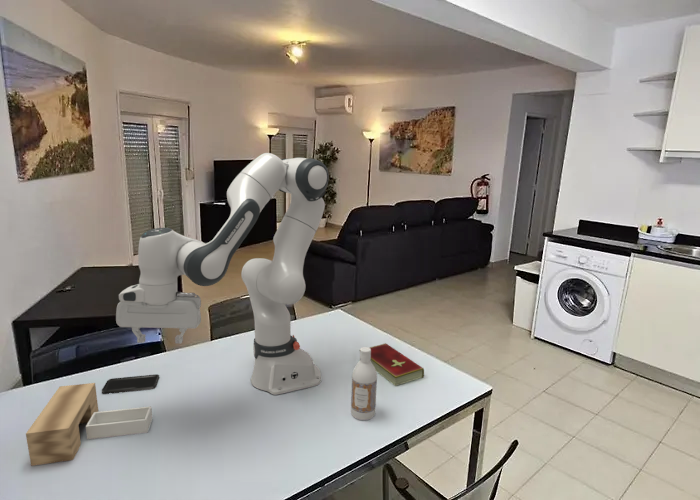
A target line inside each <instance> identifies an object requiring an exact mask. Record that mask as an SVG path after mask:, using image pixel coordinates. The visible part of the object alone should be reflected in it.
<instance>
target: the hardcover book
mask: <svg viewBox="0 0 700 500" xmlns="http://www.w3.org/2000/svg"><path fill="white" fill-rule="evenodd" d="M369 348H370V349H371V360H370V361H371V363H372V364H373V366H374V367H375V369H376V373H377V374H379V375H381V376H382V377H383V379H386V380H387V381H388V382H389V383H391V384H392V385H394V386H395V387H396V386H400V385H403V384H406V383H408V382H412V381H414V380H415V381H416V380H418V379H421V378H422V379H423V378H424V376H425V368H424V367H422V366H421V365H420V364H419V363H418V364H417V363H416V362H415V361H413V360H412V359H410V358H408V357H407V356H406V355H404V354H402V353H401V352H399V351H398V350H396V349H395V348H394V347H392V346H391V345H389V344H388V343H382V344H378V345H374V346H370V347H369Z"/></svg>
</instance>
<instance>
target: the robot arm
mask: <svg viewBox="0 0 700 500" xmlns="http://www.w3.org/2000/svg"><path fill="white" fill-rule="evenodd" d="M328 184H329V170H328V168H327V166H326V165H325V164H324V162H322V161H320V160H318V159H315V158H310V157H309V158H308V157H307V158H305V157H294V158H280V157H279V156H277V155H276V154H274V153H271V152H264V153H262V154H260V155H259V156H257V157H256V158H254V159H253V160H252V161H250V163H248V164H247V165H246V166H245V167H244V168H243V169H242V170H241V171H240V172H239V173H238V174H237V175H236V176H235V178H234V179H233V180H232V182H231V183H230V185H229V186H228V188H227V191H226V198H227V199H226V200H227V203H228V206H229V207H230V214H229V217H228V219H227V220H226V221H225V223H224V224H223V225H222V227H221V228H220V229H219V231H217V233H216V235H215V236H214V237H213V239H212V240H210V241H209V242H203V241H201V240H199V239H196V238H192V237H188V236H185V235H183V234H180V233H178V232H176V231H175V230H173V229H172V228H170V227H157V228H151V229H148V230H147V231H145V232H143V233H142V234H141V236H140V238H139V241H138V251H137V253H138V256H137V257H138V260H137V261H138V262H137V263H138V264H137V265H138V269H139V271H140V275H139V280H138V283H137V284H134V285H130V286H128V287H126V288H125V289H123V290H122V291H121V292H120V293H119V294H118V300H119V302H118V303H117V306H116V309H115V310H116V311H115V312H116V313H115V321H116V324H117V326H119V327H120V328H131V331H132V333H133V334H134V336H135V337H136V340H137V341H136V342H137V344H144V343H146V340H147V339H146V336H147V335H146V333H145V334H143V333H142V331H141V330H140V329H141V328H150V329H152V328H155V329H157V328H159V329H160V328H161V329H178V331H179V334H176V336H175V338H174V340H175V341H174V343H175V344H178V345H179V344H182V343H183V342H184V335H185V333H186V332H187V330H188V329H196V328H198V326H199V325H200V324H201V322H202V315H201V309H200V308H201V306H202V299H201V297H200V296H199V295H198V294H196V293H195V292H181V291H178V277H179V276H184V275H185V276H186V277H187V278H188V279H189V280H190V281H191V282H192V283H193V284H195V285H197V286H201V287H210V286H213V285H215V284H218V283H219V282H221V280H222V279H223V278H224V277H225V275H226V274H227V272H228V270H229V266H230V263H231V261H232V258H233V256H234V254H235V253H236V252H237V250H238V249H239V247H240V246H241V244H242V243H243V241H245V239H246V238H247V236H248V235H249V233H250V232H251V231H252V229H253V228H254V225H255V224H256V223H257V221H258V219H259V216H260V215H261V212H262V210H263V209H264V208H265V206H266V205H267V204H268V203H269V201H270V200H271V199H272V198H273V196H274V195H275V194H276V193H277V192H278V191H280V192H283V193H284V194H285V193H287V194H290V198H291V199H290V204H289V207H288V209H287V210H286V211H285V213H284V215H283V217H282V220H281V222H280V223H279V226H278V227H277V230H276V231H275V234H273V235H274V236H273V239H272V241H273V244H274V252H273V253H274V254H273V258H272V260H271V259H268V258H263V257H262V258H259V257H256V258H251V259H249V260H248V261H246V262H245V263H244V264H243V266H242V269H241V273H240V274H241V280H242V282H243V283H244V286H245V287H246V289H247V293H248V298H249V300H250V305H251V308H252V311H253V312H252V314H253V320H254V339H253V357H254V361H253V362H254V363H253V369H252V374H251V378H250V384H251V385H252V386H253V387H255V388H257V389H258V390H261V391H265V392H268V393H270V394H272V395H274V396H275V395H276V396H277V395H282V394H286V393H289V392H290V393H291V392H296V391H299V390H303V389H307V388H312V387H315V386H318V385H320V383H321V382H322V373H321V370H320V368H319V367H318V366H317V365H316V364H315V363H314V360H313V358H312V357H311V354H310V353H308V352H307V351H305V350H304V349H302V348H301V345H300V343H299V342H298V340H297V338H296V337H295V335H294V334H291V314H290V311H289V309H288V308H287V306H286V305H288V306H291V305H294V304H296V303H298V302H299V301H300V300H301V299H302V297H303V296H304V295H305V291H306V281H305V277H304V265H305V258H306V256H307V252H308V250H309V247H311V246H310V245H311V243H312V242H313V238H315V234H316V233H317V231H318V229H319V226H320V223H321V221H322V218H323V214H324V211H325V208H326V207H325V206H326V205H325V201H324V198H323V196H324V195H325V194H326V189H327V188H328Z"/></svg>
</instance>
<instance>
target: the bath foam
mask: <svg viewBox="0 0 700 500" xmlns="http://www.w3.org/2000/svg"><path fill="white" fill-rule="evenodd" d="M370 360H371V349H370V347H367V346H363V347H361V348H360V349H359V360H358V362H357V363H356V365H355V366H354V369H352V375H351V397H350V399H351V400H350V401H351V402H350V414H351V416H352V417H353V418H355V419H357V420H360V421H367V420H371V419H373V418H374V417H375V415H376V407H377V387H378V385H377V384H378V375H377V374H378V372H377V371H376V369H375V367H374V366H373V364H372V363H371V361H370Z"/></svg>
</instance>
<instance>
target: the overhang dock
mask: <svg viewBox="0 0 700 500" xmlns="http://www.w3.org/2000/svg"><path fill="white" fill-rule="evenodd" d="M94 412H99V405H98V396H97V388H96V382H91V383H89V382H88V383H80V384H72V385H61V386H59V387H58V388H57V390H56V391H55V393H54V394H53V395H52V397H51V398H50V399H49V400H48V402H47V404H46V405H45V406H44V408H42V411H41V412H40V413H39V415H38V416H37V418H36V419H35V421H33V422H32V424H31V426H30V427H29V428H28V430H27V431H26V433H25V437H26V438H25V439H26V444H27V449H28V455H29V461H30V462H29V463H30V466H31V467H32V466H34V467H35V466H39V465H41V466H42V465H47V464H54V463H62V462H69V461H73V460H74V459H75V457H76V456H77V453H78V451H79V450H80V447H81V445H82V443H81V434H80V427H79V425H80V424H81V425H82V424H87V423H88V422H89V420H90V418H91V417H92V415H93V413H94Z"/></svg>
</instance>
